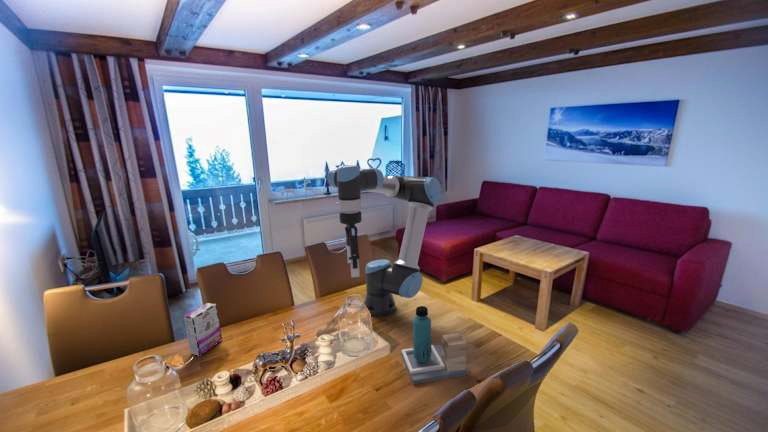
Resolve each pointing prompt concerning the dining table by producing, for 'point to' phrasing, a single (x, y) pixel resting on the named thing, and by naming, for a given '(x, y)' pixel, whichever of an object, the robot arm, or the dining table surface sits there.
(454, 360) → the wooden pillar
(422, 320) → the beverage bottle
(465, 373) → the board
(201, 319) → the candy bar box
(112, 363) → the dining table surface
